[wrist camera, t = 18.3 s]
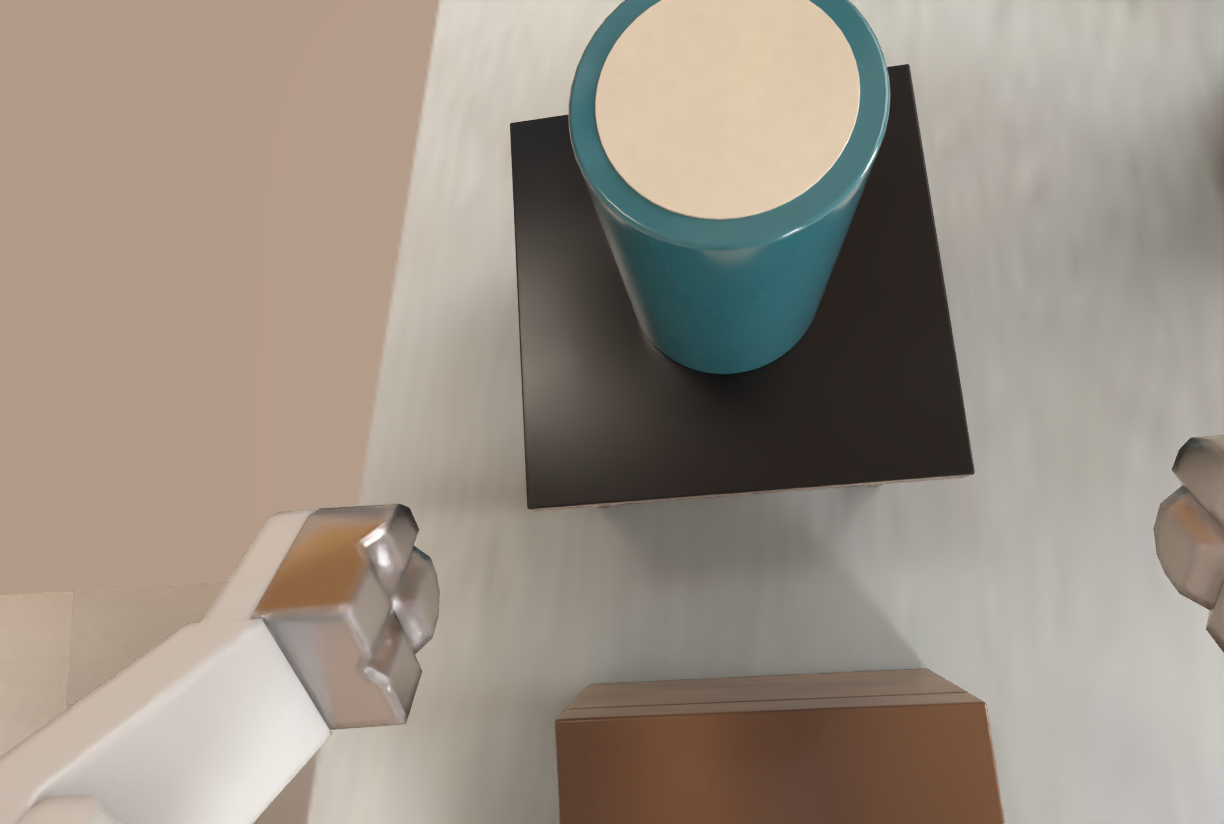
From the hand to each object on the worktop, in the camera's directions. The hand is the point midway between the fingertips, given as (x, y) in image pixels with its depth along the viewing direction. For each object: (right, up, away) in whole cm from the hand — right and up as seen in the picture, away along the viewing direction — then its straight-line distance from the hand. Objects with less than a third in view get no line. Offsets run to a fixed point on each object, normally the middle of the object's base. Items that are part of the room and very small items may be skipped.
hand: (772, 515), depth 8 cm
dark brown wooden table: (+3, +3, +21) cm, 21 cm away
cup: (+1, +5, +13) cm, 14 cm away
